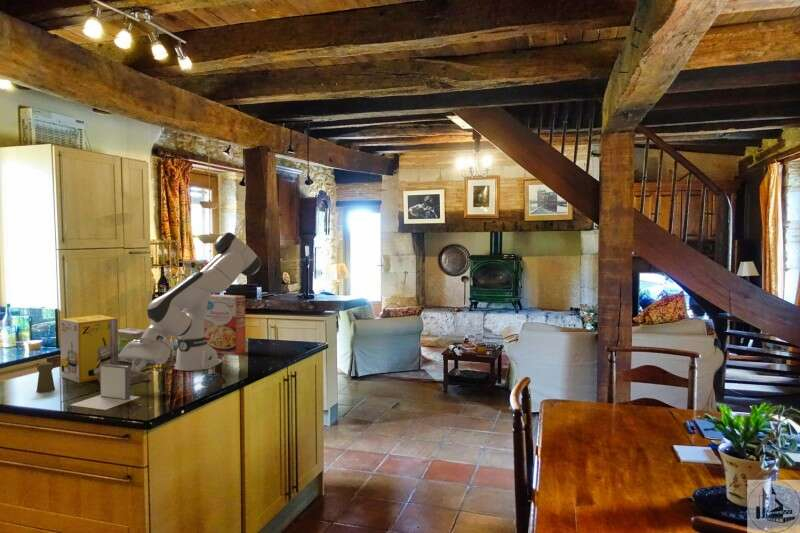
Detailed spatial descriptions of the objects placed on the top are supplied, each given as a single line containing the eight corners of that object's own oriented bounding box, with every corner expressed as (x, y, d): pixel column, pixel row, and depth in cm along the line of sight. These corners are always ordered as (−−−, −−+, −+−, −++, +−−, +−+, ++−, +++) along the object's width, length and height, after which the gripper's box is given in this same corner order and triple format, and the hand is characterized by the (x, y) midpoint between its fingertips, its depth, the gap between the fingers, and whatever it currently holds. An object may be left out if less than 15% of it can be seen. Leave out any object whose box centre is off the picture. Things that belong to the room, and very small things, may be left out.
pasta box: (199, 351, 279) (199, 295, 278) (209, 348, 287) (209, 294, 286) (235, 355, 272) (235, 297, 271) (245, 352, 280) (245, 295, 278)
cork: (42, 388, 208) (41, 361, 207) (58, 388, 209) (57, 360, 208) (32, 393, 202) (32, 364, 201) (49, 392, 202) (48, 364, 202)
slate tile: (104, 395, 198) (104, 363, 197) (130, 398, 194) (129, 366, 194) (100, 396, 196) (99, 365, 195) (125, 400, 193) (125, 367, 192)
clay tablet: (87, 383, 217) (122, 388, 210) (87, 371, 217) (122, 376, 210) (117, 376, 230) (151, 380, 223) (117, 365, 230) (151, 369, 223)
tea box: (111, 360, 257) (110, 330, 256) (128, 356, 266) (128, 327, 266) (133, 363, 251) (133, 332, 251) (151, 359, 261) (150, 329, 260)
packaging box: (118, 374, 230) (118, 318, 229) (79, 382, 217) (78, 322, 216) (100, 369, 239) (99, 314, 238) (61, 376, 226) (59, 319, 225)
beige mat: (107, 394, 201) (106, 392, 201) (140, 398, 197) (140, 396, 197) (69, 406, 186) (69, 404, 186) (105, 411, 181) (105, 409, 181)
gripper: (126, 335, 211) (107, 364, 202) (169, 337, 206) (152, 368, 197) (135, 344, 216) (117, 373, 207) (177, 346, 210) (160, 377, 201)
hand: (134, 370), depth 202 cm, fingers closed
